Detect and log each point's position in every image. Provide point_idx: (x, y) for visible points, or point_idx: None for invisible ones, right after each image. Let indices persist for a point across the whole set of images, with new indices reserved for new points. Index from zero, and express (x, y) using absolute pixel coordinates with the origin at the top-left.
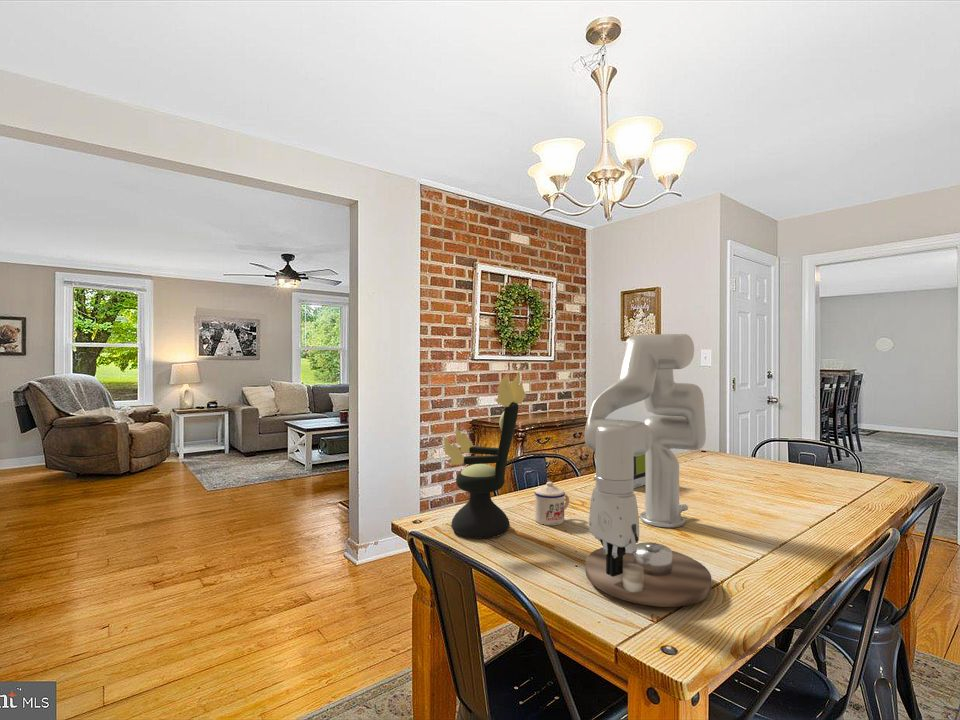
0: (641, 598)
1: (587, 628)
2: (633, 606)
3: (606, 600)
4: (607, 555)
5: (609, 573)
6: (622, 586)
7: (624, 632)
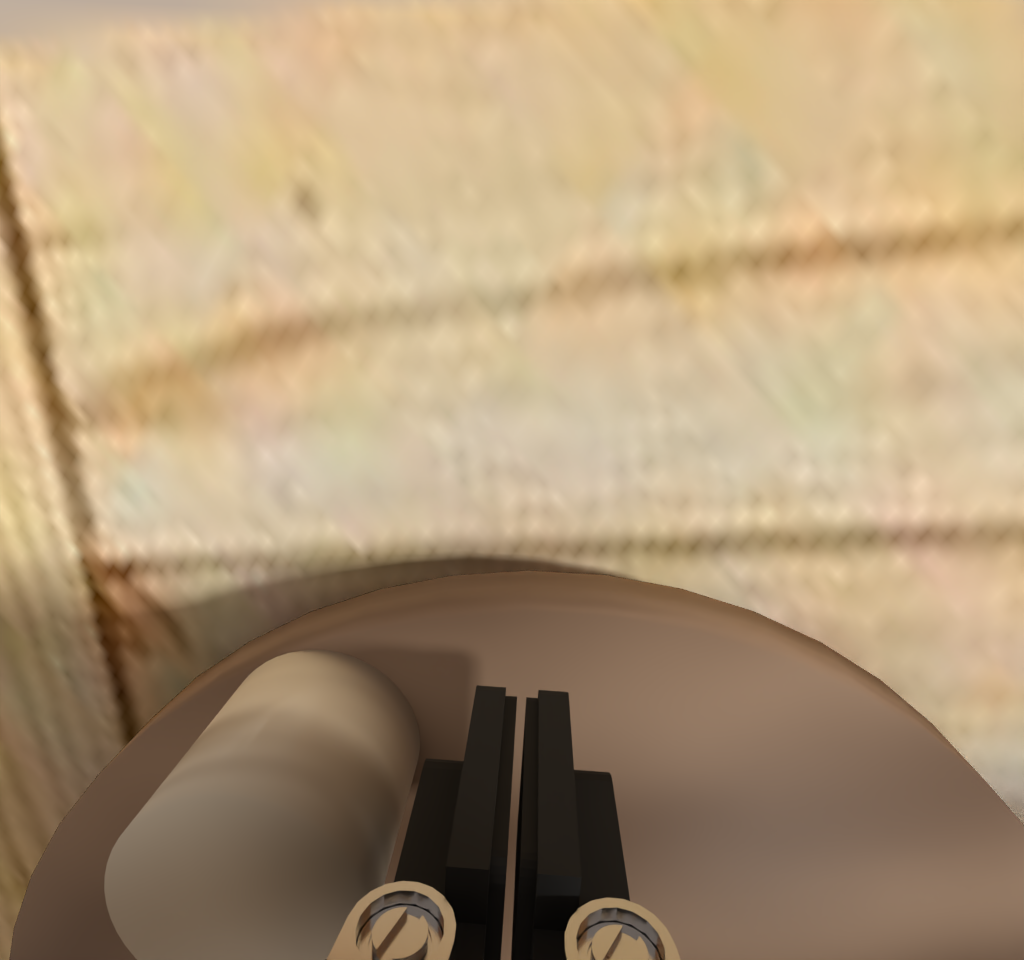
0: (215, 675)
1: (277, 19)
2: None
3: (521, 533)
4: (548, 875)
5: (527, 705)
6: (394, 680)
7: (85, 256)
